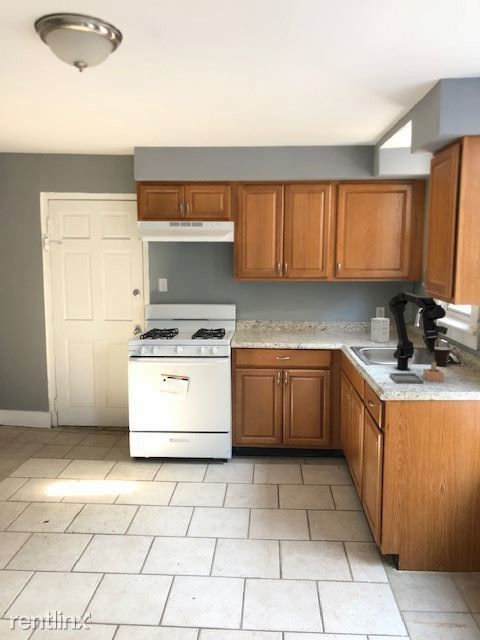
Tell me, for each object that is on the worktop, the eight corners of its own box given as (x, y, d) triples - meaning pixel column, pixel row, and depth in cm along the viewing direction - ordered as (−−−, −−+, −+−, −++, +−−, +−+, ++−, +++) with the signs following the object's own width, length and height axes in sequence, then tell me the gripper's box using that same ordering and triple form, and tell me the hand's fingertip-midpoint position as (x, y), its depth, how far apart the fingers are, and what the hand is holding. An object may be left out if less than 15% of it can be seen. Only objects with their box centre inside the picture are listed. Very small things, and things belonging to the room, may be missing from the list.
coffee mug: (443, 368, 272) (444, 350, 271) (429, 365, 279) (430, 348, 278) (454, 365, 279) (455, 348, 278) (441, 362, 286) (441, 345, 284)
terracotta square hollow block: (423, 377, 252) (423, 368, 251) (437, 377, 251) (438, 369, 251) (427, 381, 244) (428, 372, 244) (443, 381, 244) (443, 372, 244)
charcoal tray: (389, 376, 253) (389, 372, 253) (415, 377, 253) (415, 373, 252) (396, 383, 240) (396, 379, 240) (423, 383, 240) (423, 379, 240)
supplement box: (389, 341, 354) (390, 318, 352) (381, 343, 348) (382, 319, 346) (378, 339, 362) (378, 317, 359) (370, 341, 356) (371, 318, 354)
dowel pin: (429, 378, 249) (430, 361, 248) (434, 378, 249) (435, 361, 248) (431, 380, 247) (432, 362, 246) (436, 380, 247) (437, 362, 246)
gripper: (447, 317, 236) (451, 350, 234) (443, 321, 254) (447, 351, 252) (423, 320, 239) (427, 352, 237) (420, 324, 257) (424, 353, 255)
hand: (432, 352), depth 245 cm, fingers open, 9 cm apart
